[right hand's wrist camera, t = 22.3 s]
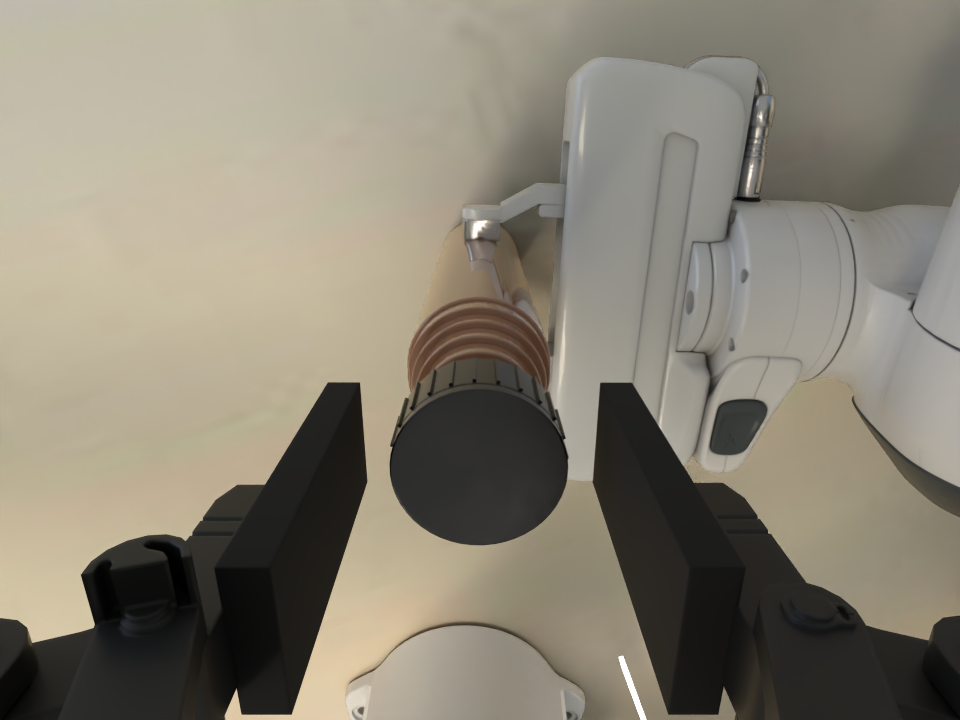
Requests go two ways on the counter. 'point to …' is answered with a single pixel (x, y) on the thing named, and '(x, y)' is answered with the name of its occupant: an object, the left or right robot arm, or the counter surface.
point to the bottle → (479, 311)
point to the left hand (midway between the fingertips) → (460, 282)
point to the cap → (478, 452)
